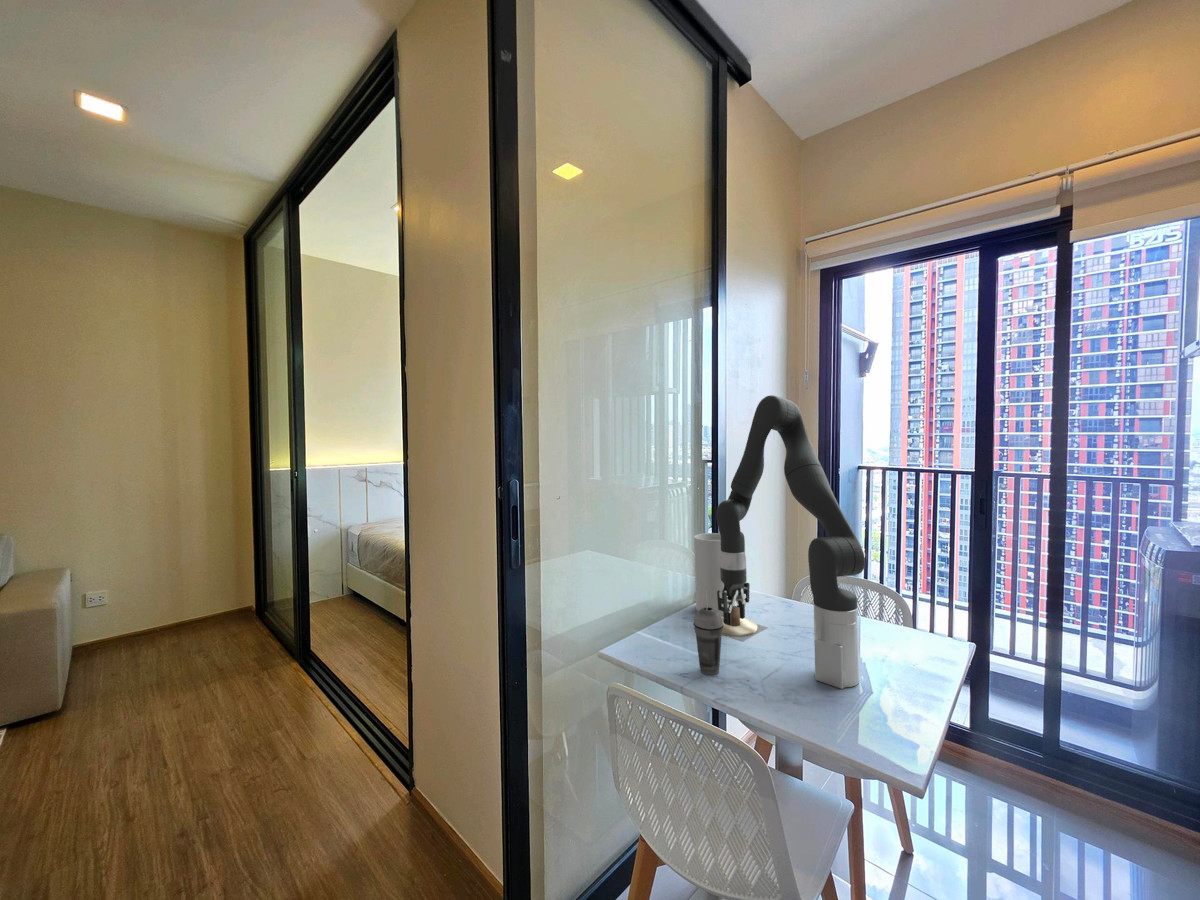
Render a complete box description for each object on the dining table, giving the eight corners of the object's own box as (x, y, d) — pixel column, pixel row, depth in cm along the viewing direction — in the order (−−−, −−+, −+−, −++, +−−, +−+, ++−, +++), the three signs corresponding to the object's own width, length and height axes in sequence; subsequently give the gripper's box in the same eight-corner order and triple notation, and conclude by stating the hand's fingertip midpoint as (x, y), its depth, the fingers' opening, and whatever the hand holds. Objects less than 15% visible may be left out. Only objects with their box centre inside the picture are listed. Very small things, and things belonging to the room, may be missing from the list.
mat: (742, 643, 132) (742, 641, 132) (701, 629, 143) (701, 627, 143) (768, 629, 142) (768, 627, 142) (727, 617, 152) (727, 615, 152)
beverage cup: (703, 680, 112) (700, 596, 112) (689, 666, 119) (687, 587, 119) (730, 675, 114) (728, 592, 114) (715, 662, 121) (713, 584, 121)
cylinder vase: (711, 602, 167) (709, 531, 166) (742, 611, 157) (740, 536, 157) (688, 611, 159) (686, 536, 159) (719, 621, 149) (717, 542, 149)
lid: (742, 640, 133) (741, 618, 133) (703, 628, 143) (703, 608, 143) (765, 627, 142) (765, 607, 142) (727, 616, 151) (727, 597, 151)
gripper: (730, 572, 135) (732, 631, 135) (757, 563, 144) (758, 618, 144) (708, 568, 140) (709, 624, 140) (735, 559, 150) (736, 612, 150)
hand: (734, 621), depth 142 cm, fingers open, 6 cm apart
